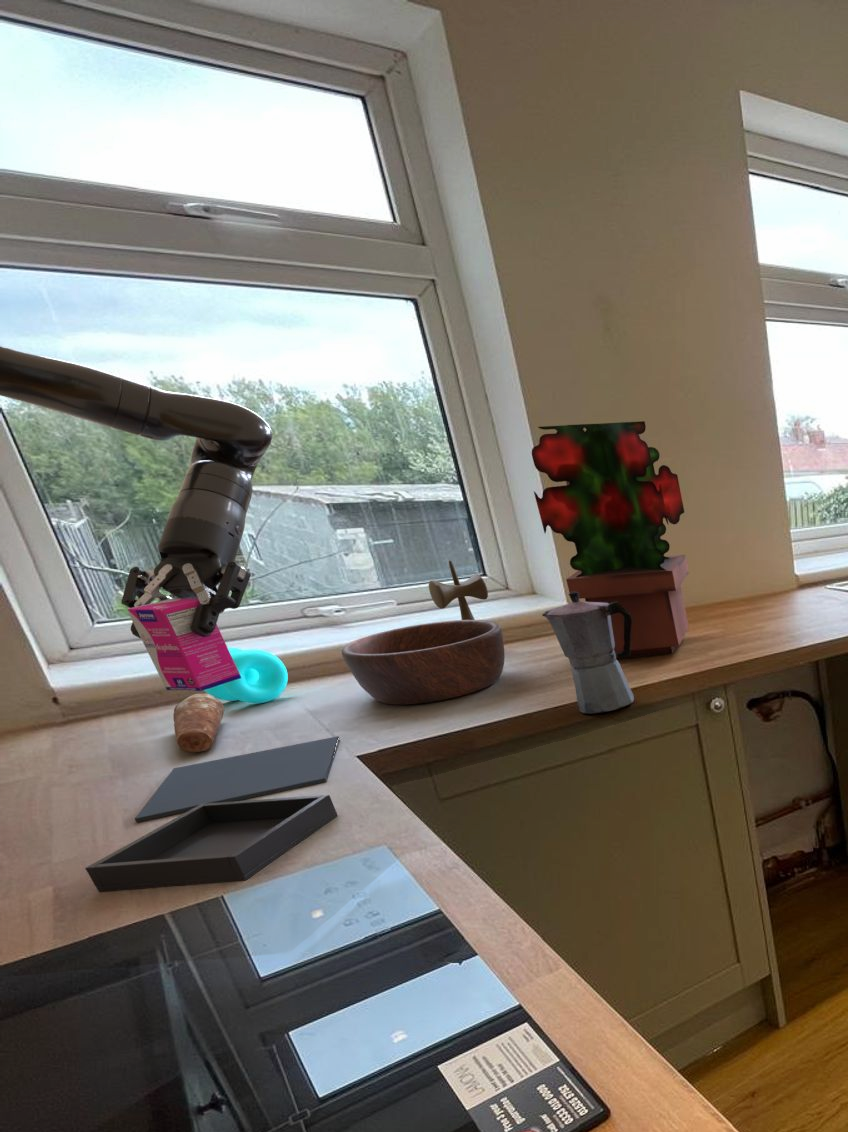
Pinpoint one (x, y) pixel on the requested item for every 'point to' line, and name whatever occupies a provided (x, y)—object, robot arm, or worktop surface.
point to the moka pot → (593, 652)
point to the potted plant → (617, 527)
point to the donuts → (253, 677)
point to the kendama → (458, 592)
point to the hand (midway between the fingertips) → (170, 635)
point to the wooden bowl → (427, 661)
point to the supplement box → (183, 646)
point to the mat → (241, 777)
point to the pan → (213, 843)
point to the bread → (197, 722)
